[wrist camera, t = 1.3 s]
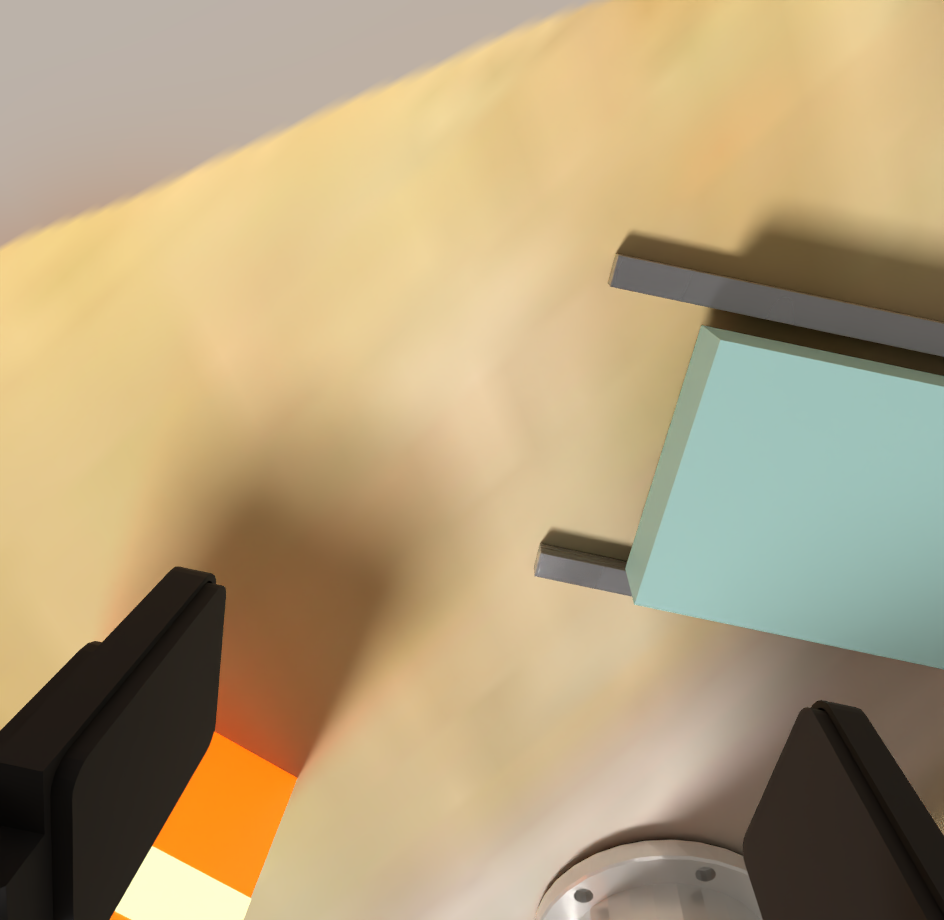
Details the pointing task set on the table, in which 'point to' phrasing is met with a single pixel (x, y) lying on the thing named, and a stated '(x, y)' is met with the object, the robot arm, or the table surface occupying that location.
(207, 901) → the orange juice
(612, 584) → the track
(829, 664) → the table surface
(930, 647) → the sage green box
